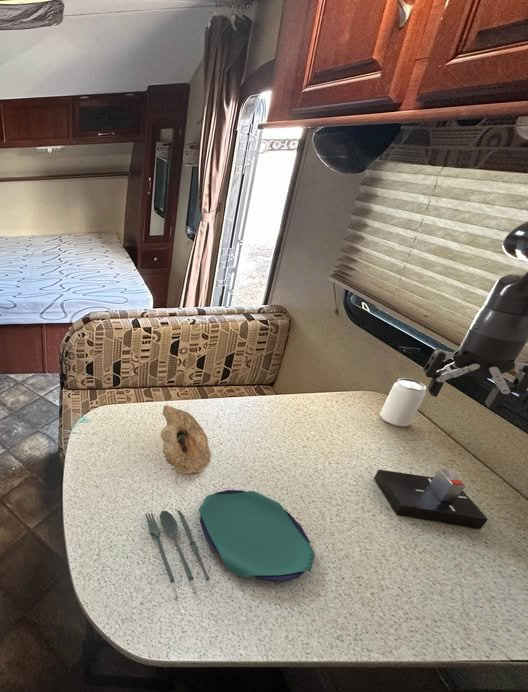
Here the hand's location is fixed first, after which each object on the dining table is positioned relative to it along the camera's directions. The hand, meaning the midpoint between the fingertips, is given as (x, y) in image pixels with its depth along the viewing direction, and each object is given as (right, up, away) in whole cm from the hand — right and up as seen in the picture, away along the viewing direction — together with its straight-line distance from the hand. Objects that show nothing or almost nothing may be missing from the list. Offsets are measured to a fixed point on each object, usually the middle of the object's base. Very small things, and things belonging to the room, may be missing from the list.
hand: (460, 399), depth 78 cm
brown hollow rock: (-52, -17, +18) cm, 57 cm away
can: (+10, -10, +25) cm, 29 cm away
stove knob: (-4, -20, 0) cm, 20 cm away
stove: (-6, -22, +2) cm, 23 cm away
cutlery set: (-51, -28, -3) cm, 58 cm away
